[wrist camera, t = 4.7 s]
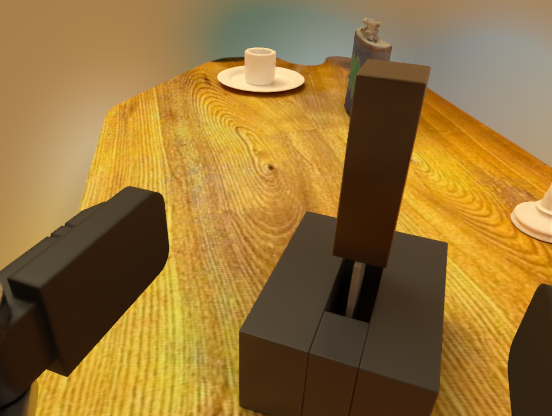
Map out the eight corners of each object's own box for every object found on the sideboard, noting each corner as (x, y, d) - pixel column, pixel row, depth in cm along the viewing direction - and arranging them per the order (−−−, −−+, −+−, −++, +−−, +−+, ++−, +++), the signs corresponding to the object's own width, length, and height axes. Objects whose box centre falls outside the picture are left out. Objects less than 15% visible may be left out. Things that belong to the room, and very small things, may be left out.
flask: (381, 129, 51) (398, 28, 46) (355, 129, 51) (369, 27, 45) (362, 101, 59) (374, 12, 53) (339, 101, 59) (350, 11, 53)
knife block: (238, 405, 22) (238, 331, 19) (300, 275, 30) (306, 210, 27) (412, 467, 19) (439, 392, 17) (428, 309, 28) (448, 242, 25)
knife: (315, 366, 24) (353, 76, 16) (329, 325, 26) (369, 56, 18) (362, 380, 23) (426, 86, 15) (371, 337, 25) (431, 64, 17)
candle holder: (276, 67, 71) (277, 38, 68) (321, 90, 62) (324, 57, 60) (203, 75, 65) (202, 44, 63) (241, 102, 57) (241, 66, 55)
